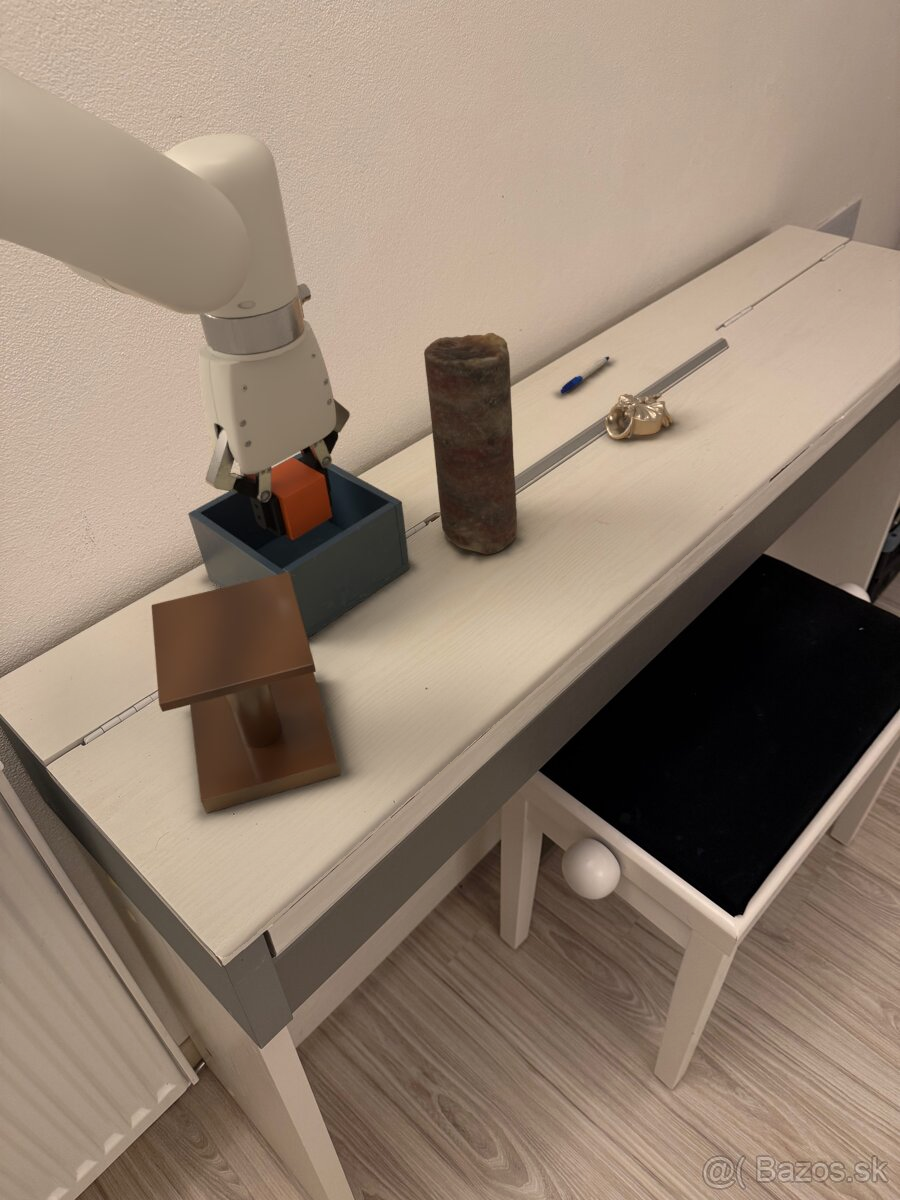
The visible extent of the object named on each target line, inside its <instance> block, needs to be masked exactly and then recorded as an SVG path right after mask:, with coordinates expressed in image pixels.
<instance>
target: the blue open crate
mask: <svg viewBox="0 0 900 1200" xmlns="http://www.w3.org/2000/svg"><path fill="white" fill-rule="evenodd" d="M291 458H294V459H296V460H298V461H299V460H300V459H302V458H304V457H303V456H302V454H301V452H298V453H296V454H294V455H292V456H290V457H289V458H287V459H285V460H283V461H281V462H279V463H277V464H276V465H274V466H272V467H271V469H272V468H274V467H276V466H278V465H280V464H282V463H284V462H285V461H287V460H289V459H291ZM327 471H328V476H329V481H330V487H331V491H330V495H331V500H332V506H331V513H332V517H331V518H330V519H328V520H326V521H325V522H323V523H321V524H320V525H318V526H316V527H315V528H313V529H311V530H310V531H308V532H307V533H305V534H303V535H302V536H300V537H298V538H297V539H295V540H292V539H290V538H288V537H287V536H285V535H283V536H281V537H279V536H277V535H276V534H274V533H273V532H271V531H270V530H268V529H264V528H262V527H261V526H260V525H259V524H258V523H257V521H256V519H255V515H254V511H253V507H252V503H251V500H250V497H249V496H246V495H243V494H240V493H239V492H235V491H227V492H225V493H223V494H221V495H220V496H218V497H216V498H213V499H212V500H209V501H208V502H206V503H205V504H203V505H200V506H199V507H197V508H195V509H194V510H191V511H190V512H188V513H187V515H188V517H189V520H190V524H191V527H192V530H193V534H194V536H195V539H196V542H197V545H198V548H199V552H200V555H201V558H202V561H203V564H204V567H205V570H206V574H207V576H208V579H209V581H212V583H214V584H215V585H216V586H218V587H219V589H220V588H224V587H228V586H232V585H237V584H241V583H245V582H249V581H253V580H258V579H262V578H266V577H270V576H274V575H278V574H283V573H287V572H289V573H290V576H291V580H292V583H293V587H294V591H295V594H296V598H297V602H298V605H299V609H300V613H301V617H302V620H303V624H304V628H305V631H306V635H307V639H309V638H310V637H312V636H313V635H315V634H316V633H318V632H319V631H320V630H322V629H323V628H325V627H326V626H328V625H329V624H330V623H333V621H335V620H337V619H338V618H339V617H341V616H342V615H344V614H346V613H347V612H348V611H349V610H351V609H352V608H354V607H355V606H357V605H359V604H360V603H361V602H363V601H364V600H366V599H367V598H369V597H370V596H372V595H373V594H374V593H377V591H379V590H380V589H382V588H384V587H385V586H386V585H387V584H389V583H391V582H392V581H393V580H395V579H397V578H398V577H400V576H401V575H402V574H404V573H406V572H407V571H409V570H410V569H411V568H410V559H409V551H408V543H407V542H408V541H407V534H406V533H407V532H406V525H405V516H404V509H403V501H402V500H400V499H398V498H396V497H395V496H393V495H391V494H389V493H387V492H385V491H383V490H381V489H380V488H378V487H376V486H374V485H373V484H371V483H369V482H367V481H365V480H363V479H362V478H361V477H358V476H356V475H354V474H353V473H350V472H349V471H347V470H345V469H344V468H342V467H339V466H338V465H337V464H334V463H332V462H331V465H330V466H329V467H328V468H327Z"/></svg>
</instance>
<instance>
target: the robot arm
mask: <svg viewBox="0 0 900 1200" xmlns="http://www.w3.org/2000/svg"><path fill="white" fill-rule="evenodd" d="M278 175H279V174H278V170H277V166H276V163H275V157H274V155H273V153H272V152H271V149H270V148H269V147H268V145H266V143H265V142H264V141H262V140H261V139H259V138H257V137H255V136H253V135H248V134H244V133H236V132H235V133H234V132H231V133H228V132H227V133H226V132H225V133H215V134H214V133H213V134H207V135H202V136H197V137H193V138H190V139H187V140H184V141H182V142H179V143H178V144H176V145H174V146H172V147H171V148H170V149H169V150H166V151H162V152H160V151H159V150H157V149H155V148H154V147H152V146H151V145H149V144H147V143H145V142H144V141H142V140H141V139H139V138H137V137H135V136H133V135H132V134H130V133H129V132H127V131H125V130H123V129H121V128H119V127H117V126H116V125H114V124H112V123H110V122H108V121H107V120H105V119H102V118H101V117H99V116H97V115H96V114H93V113H91V112H89V111H87V110H86V109H83V108H82V107H79V106H78V105H77V104H76V105H75V104H73V102H70V101H67V100H66V99H64V98H61V97H60V96H58V95H56V94H54V93H52V92H50V91H48V90H46V89H44V88H42V87H40V86H38V85H36V84H34V83H32V82H31V81H29V80H27V79H25V78H23V77H21V76H19V75H18V74H15V73H14V72H12V71H10V70H8V69H7V68H5V67H3V66H2V65H0V240H4V241H7V242H9V243H12V244H15V245H18V246H20V247H24V248H27V249H28V250H31V251H34V252H37V253H39V254H41V255H44V256H46V257H50V258H52V259H55V260H57V261H60V262H61V263H62V264H63V265H64V266H65V267H67V268H68V269H69V270H70V271H72V272H73V273H75V274H76V275H78V276H79V277H81V278H83V279H85V280H87V281H89V282H92V283H93V284H96V285H100V286H102V287H105V288H107V289H110V290H113V291H115V292H119V293H121V294H125V295H128V296H132V297H135V298H137V299H141V300H143V301H146V302H149V303H151V304H154V305H156V306H159V307H160V308H161V307H162V308H164V309H166V310H169V311H172V312H175V313H177V314H183V315H194V316H195V315H198V316H199V319H200V322H201V326H202V330H203V333H204V334H203V335H204V337H205V341H206V344H205V345H203V346H201V347H200V348H198V352H197V353H198V354H197V355H198V356H197V357H198V379H199V389H200V396H201V403H202V408H203V413H204V419H205V424H206V430H207V434H208V438H209V441H210V445H211V448H212V451H213V453H212V456H211V460H210V462H209V466H208V468H207V471H206V475H205V482H206V484H208V485H210V486H211V487H213V489H216V490H221V491H227V492H229V491H235V492H239V493H240V494H243V495H246V496H249V497H250V500H251V503H252V507H253V511H254V515H255V519H256V521H257V523H258V524H259V525H260V526H261V527H262V528H264V529H268V530H270V531H271V532H273V533H274V534H276V535H277V536H279V537H281V536H283V535H285V532H286V528H285V524H284V520H283V516H282V512H281V507H280V503H279V500H278V498H277V497H276V496H274V495H273V494H272V492H271V468H272V467H274V466H276V465H278V464H280V463H282V462H283V461H285V460H287V459H289V458H291V457H293V456H295V455H297V454H298V453H301V454H302V456H303V457H304V458H302V459H300V460H299V461H300V462H302V463H303V464H305V465H307V466H309V467H310V468H312V469H314V470H316V471H318V472H319V473H321V474H323V475H324V476H325V481H326V486H327V491H328V497H329V502H330V507H331V506H332V500H331V495H330V491H331V487H330V481H329V476H328V471H327V468H328V467H329V466H330V465H331V463H332V462H333V458H332V456H331V454H332V452H333V450H334V448H335V446H336V444H337V443H338V440H339V433H341V432H342V430H343V428H345V426H346V424H347V423H348V420H349V419H350V418H351V417H350V416H351V414H350V411H349V410H348V409H347V408H345V407H344V406H343V405H342V404H341V403H340V402H339V401H337V400H336V399H335V398H334V393H333V389H332V384H331V380H330V376H329V372H328V369H327V366H326V365H327V364H326V362H325V359H324V356H323V353H322V350H321V347H320V343H318V339H317V336H316V335H315V332H314V330H313V328H312V326H311V324H310V323H309V322H308V321H307V320H305V315H304V309H303V306H304V304H305V303H306V302H309V301H310V300H311V298H312V294H311V290H310V288H309V286H308V285H307V284H306V283H300V284H298V281H297V275H296V269H295V265H294V259H293V253H292V246H291V241H290V235H289V230H288V224H287V219H286V214H285V209H284V203H283V198H282V192H281V187H280V181H279V176H278ZM235 462H236V463H237V464H238V466H239V473H236V472H232V468H233V465H234V463H235Z"/></svg>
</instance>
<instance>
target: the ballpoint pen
mask: <svg viewBox="0 0 900 1200" xmlns="http://www.w3.org/2000/svg"><path fill="white" fill-rule="evenodd" d="M609 360H610V356H606V357H605V356H604V357H602V359H601V360H599V361H598V362H596V363H595V364H593V365H592V366H590V367H589V368H587V370H585V371H583V372H582V373H581V374H579V375H578V376H574V377H573V378H572V379H570V380H569V381H567V382H566V383H565V384H564V385H563V386H562V387H561V389H560V393H561V394H562V395H563V394H566V393H568V392H569V391H571V390H572V389H573V388H574V387H576V386H578V384H580V383H581V382H582V381H583V380H585V379H586V378H587V377H588V376H590V375H591V374H592V373H594V372H595V371H597V370H599V369H600V368H601V367H602V366H604V365H605V364H606V363H607V362H608V361H609Z"/></svg>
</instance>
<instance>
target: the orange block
mask: <svg viewBox="0 0 900 1200" xmlns="http://www.w3.org/2000/svg"><path fill="white" fill-rule="evenodd" d="M290 458H291V457H290ZM290 458H288V459H289V460H288V459H286V460H287V461H286V460H284V461H285V462H284V461H283V462H284V463H282V462H281V463H282V464H280V463H279V464H280V465H278V464H277V465H278V466H277V465H275V466H276V467H275V466H273V467H274V468H273V467H271V468H272V469H271V492H272V494H273V495H274V496H276V497H277V498H278V500H279V503H280V507H281V512H282V516H283V520H284V524H285V528H286V532H285V536H287V537H288V538H290V539H292V540H295V539H297V538H298V537H300V536H302V535H303V534H305V533H307V532H308V531H310V530H311V529H313V528H315V527H316V526H318V525H320V524H321V523H323V522H325V521H326V520H328V519H330V518H331V517H332V513H331V507H330V502H329V497H328V491H327V486H326V481H325V476H324V475H323V474H321V473H319V472H318V471H316V470H314V469H312V468H310V467H309V466H307V465H305V464H303V463H302V462H300V461H298V460H296V459H294V458H291V459H290Z"/></svg>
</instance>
